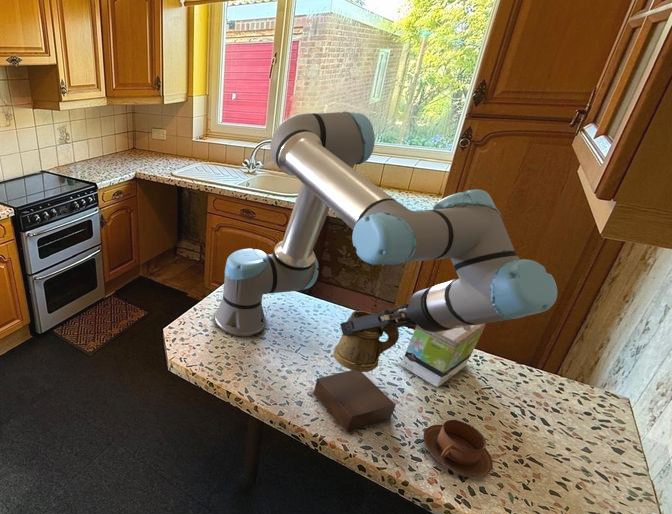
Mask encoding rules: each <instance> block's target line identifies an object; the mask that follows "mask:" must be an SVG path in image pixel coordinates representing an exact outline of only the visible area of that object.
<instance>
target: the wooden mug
mask: <svg viewBox="0 0 672 514" xmlns="http://www.w3.org/2000/svg"><path fill="white" fill-rule="evenodd" d="M371 314H374V313H372V312H369V311H366V310H354V311H352V313H351V315H350V316H349V317H348V319H346V322H347V321H348V320H350V319H354V317H353V316H356V315H358V317H363V316H367V315H371ZM396 322H397V324H400V323H399V322H398V321H397V319H396ZM399 331H400V330H399V328H398V327H391V326H385V327H380V328H375V329H369V330H364V332H360V333H355V334H351V335H346V336H343V334H342V335H341V337H340V339H339V342H337V344H336V345H335V347H334V350H333V353H332V355H333V358H334V360H335V361H336V363H338V364H339V365H340V366H341V367H343V368H345V369H348V370H349V371H350V370H354V371H358V372H362V373H368V372H372V371H374V370H375V369H377V368H378V367H379V361H380V360H379V359H380V358H379V357H380V356H381V354H383V353H384V352H385V351H387V350H389V349H391V348H392V347H394V346H395V345H396V344H397V342H398V341H399V338H400V332H399ZM384 334H386V335H387V339H386V340H385V341H382V340H380V338H381V337H383V335H384Z"/></svg>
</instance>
